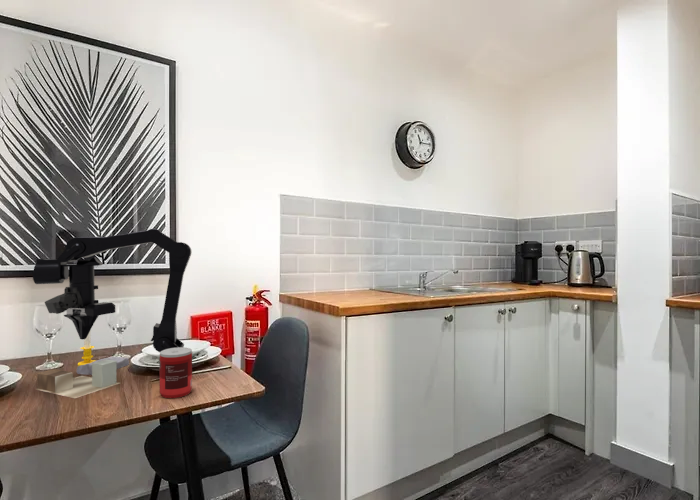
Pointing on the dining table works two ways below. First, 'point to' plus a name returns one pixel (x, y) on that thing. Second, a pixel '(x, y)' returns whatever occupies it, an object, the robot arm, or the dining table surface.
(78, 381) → the serving board
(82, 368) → the stone block
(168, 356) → the canned food
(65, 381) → the walnut block
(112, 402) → the dining table surface
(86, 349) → the candle
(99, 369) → the pale grey block
